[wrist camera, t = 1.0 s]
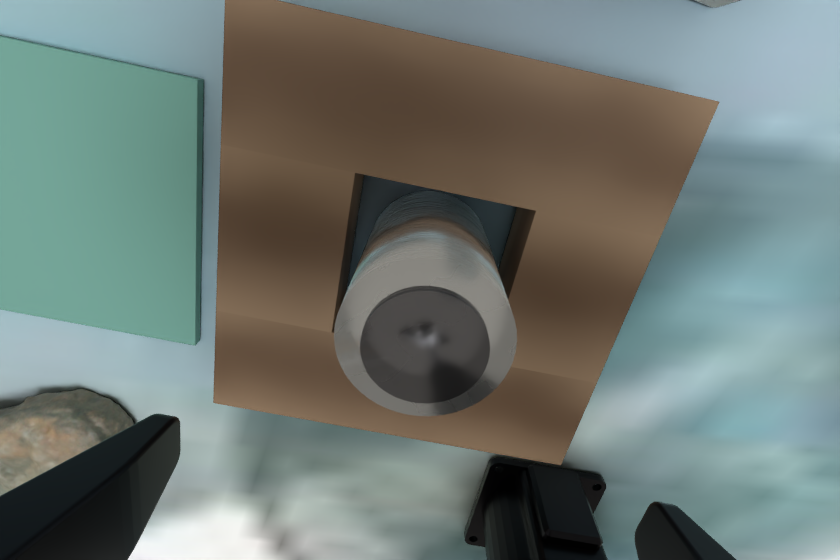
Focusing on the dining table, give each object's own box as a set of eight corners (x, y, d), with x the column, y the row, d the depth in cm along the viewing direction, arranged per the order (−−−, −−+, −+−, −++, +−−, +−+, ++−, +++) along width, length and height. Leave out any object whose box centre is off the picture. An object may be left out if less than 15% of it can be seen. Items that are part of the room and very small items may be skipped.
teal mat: (199, 340, 23) (195, 345, 22) (-53, 293, 22) (-63, 297, 21) (203, 79, 18) (197, 79, 17) (-119, 9, 17) (-134, 7, 17)
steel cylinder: (470, 311, 22) (491, 438, 14) (361, 289, 21) (320, 407, 14) (500, 204, 20) (543, 285, 12) (380, 179, 19) (344, 244, 12)
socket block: (546, 421, 24) (560, 465, 21) (239, 364, 23) (213, 402, 20) (674, 98, 18) (719, 102, 15) (259, 3, 17) (225, -12, 14)
